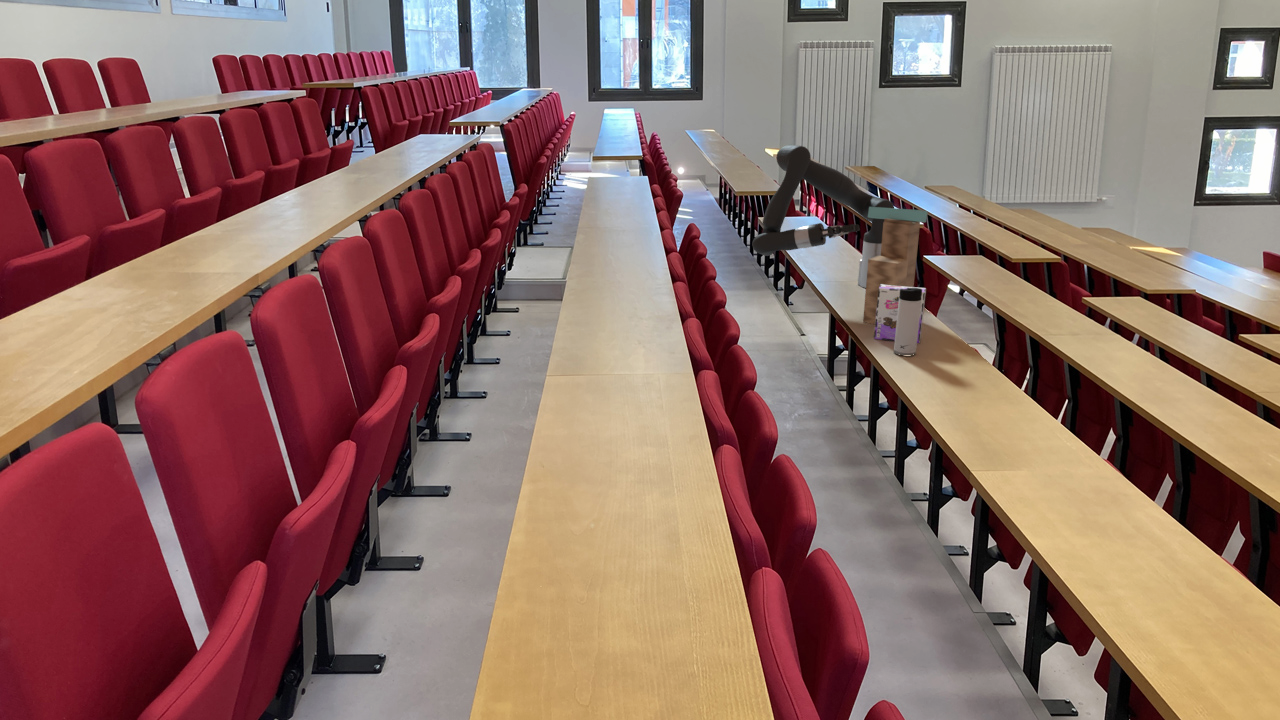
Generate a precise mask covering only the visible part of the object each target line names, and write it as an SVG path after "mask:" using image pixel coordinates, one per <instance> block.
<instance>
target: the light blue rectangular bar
mask: <svg viewBox="0 0 1280 720" xmlns="http://www.w3.org/2000/svg"><path fill="white" fill-rule="evenodd" d="M928 212H929V211H927V210H920V209H910V208H909V209H908V208H907V209H906V208H895V207H894V208H881V207H869V211H868V217H869V218H877V219H886V218H887V219H896V220H905V221H914V222H920V223H927V218H928Z"/></svg>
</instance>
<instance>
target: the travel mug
mask: <svg viewBox="0 0 1280 720" xmlns="http://www.w3.org/2000/svg"><path fill="white" fill-rule="evenodd" d="M919 288H920V287H918V288H907V289H900V296H899V303H898V313H897V324H896V334H895V341H894V346H893V354H895V353H896V354H900V355H913V354H915V353H916V354H917V344H918V343H917V337H918V328H919V318H920V309H921V296H922V289H919ZM896 354H895V355H896ZM916 354H915V355H916Z"/></svg>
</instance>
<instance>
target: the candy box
mask: <svg viewBox="0 0 1280 720" xmlns="http://www.w3.org/2000/svg"><path fill="white" fill-rule="evenodd" d="M907 288H919V289H922V296H921V309H920V318H919V328H918V337H917V344H918V343H919V344H920V343H921V340H922V338H921V337H922V328H923V319H924V309H925V301H926V294H927V288H926V287H915V286H914V287H906V286H894V285H884V284H880V287H879V291H878V301H877V309H876V319H875V324H874V333H873V339H874V340H881V341H882V340H883V341H892V342H895V334H896V324H897V313H898V303H899V296H900V289H907ZM920 339H921V340H920Z"/></svg>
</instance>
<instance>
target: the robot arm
mask: <svg viewBox="0 0 1280 720" xmlns="http://www.w3.org/2000/svg"><path fill="white" fill-rule="evenodd" d="M811 156H812V155H811V152H810V150H809V149H808V148H807V147H805V146H803V145H798V144H797V145H795V144H788V145H784V146H782V147H781V148H780V149H779V150H778V151H777V153H776V163H777V165H778V167H779V168H780V169H781V170H782V171H785V175H784V178H783V180H782V182H781V184H780V185H779V187H778V189H777V190H776V191H775V193H774V194H773V196H772V197H771V199H770V200H769V202H768V204H767V207H766V209H765V213H764V217H763V219H762V226H763V229H762V232H761V233H760V234H758V235H756V236H755V237H754V238H753V240H752V243H751V244H752V249H753V250H754V252H756V253H757V254H760V255H761V256H766V257H768V256H771V255H773V254H774V253H775V252H777V251H785V252H786V251H792V250H799V249H808V248H813V247H820V246H823V245H824V246H825V245H826V243H827V237H828V239H834V238H836V237H841V236H843V235H848V234H850V233H855V232H858V231H859V232H860V230H861V229H860V225H859V224H857V223H856V224H854V223H851V224H847V225H831V226H826V228H825V227H824V225H823V223H821V222H819V223H815V224H809V225H804V226H800V227H797V228H793V229H788V230H783V231H781V230H782V226H783V224H784V221H785V219H786V215H787V212H788V209H789V207H790V204H791V201H792V199H793V197H794V195H795V194H796V192H797V189H798V187H799V185H800V184H801V181H802V180H803V181H805V182H807V183H808V184H810V185H811V186H812V187H814V188H815V189H816V190H818V191H820V192H822V193H823V194H824V195H826V196H827V197H830V198H831V199H833V200H835V201H836V202H837V203H841V204H842V205H845V206H846V207H849V208H851V209H852V210H853V211H855V212H856V213H857V214H858V215H860V216H861V217H862V218H863V219H865V220H867V221H868V222H870V223H871V226H870V230H869V231H866V232H865V233H864V234H863V242H862V244H863V245H862V254H861V255H862V256H861V259H860V260H859V263H858V264H859V265H858V277H857V285H858V286H859V287H862V288H865V289H866V281H867V270H868V259H871V258H873V257H876V256H879V255H880V256H881V245H882V234H883V222H884V219H877V218H869V217H868V211H869V207H881V208H895V205H894V204H893V202H892V201H890V200H889V199H886V198H881V197H877V196H875V195H874V196H873V195H872V194H869V193H867V192H865V191H863V190H861V189H860V188H859V187H858V186H857V185H856V183H855V182H854V181H853V179H851V178H850V177H848V176H847V175H846V174H844V173H842V172H841V171H839V170H837V169H835V168H832V167H830V166H827V165H824V164H821V163H819V162H816V161H814V160H812V159H811V158H812V157H811Z"/></svg>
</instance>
